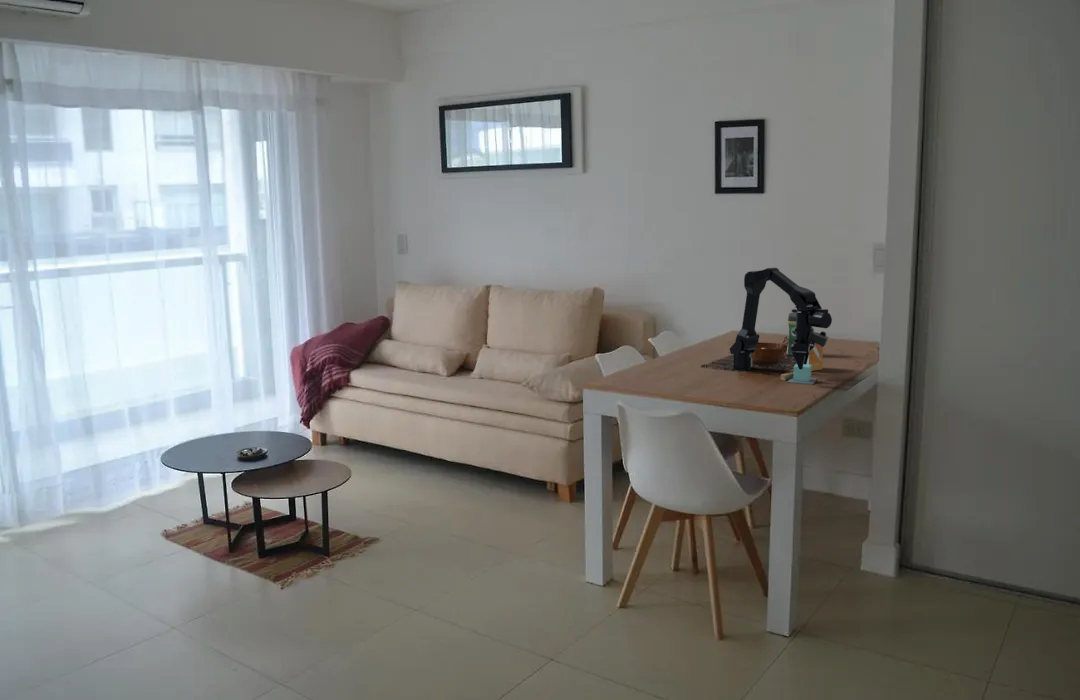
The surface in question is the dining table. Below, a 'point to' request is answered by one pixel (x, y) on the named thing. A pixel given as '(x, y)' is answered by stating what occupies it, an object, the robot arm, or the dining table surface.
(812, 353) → the small box
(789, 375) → the tan bar
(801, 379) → the teal block
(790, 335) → the coffee jar
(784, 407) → the dining table surface
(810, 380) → the coaster
